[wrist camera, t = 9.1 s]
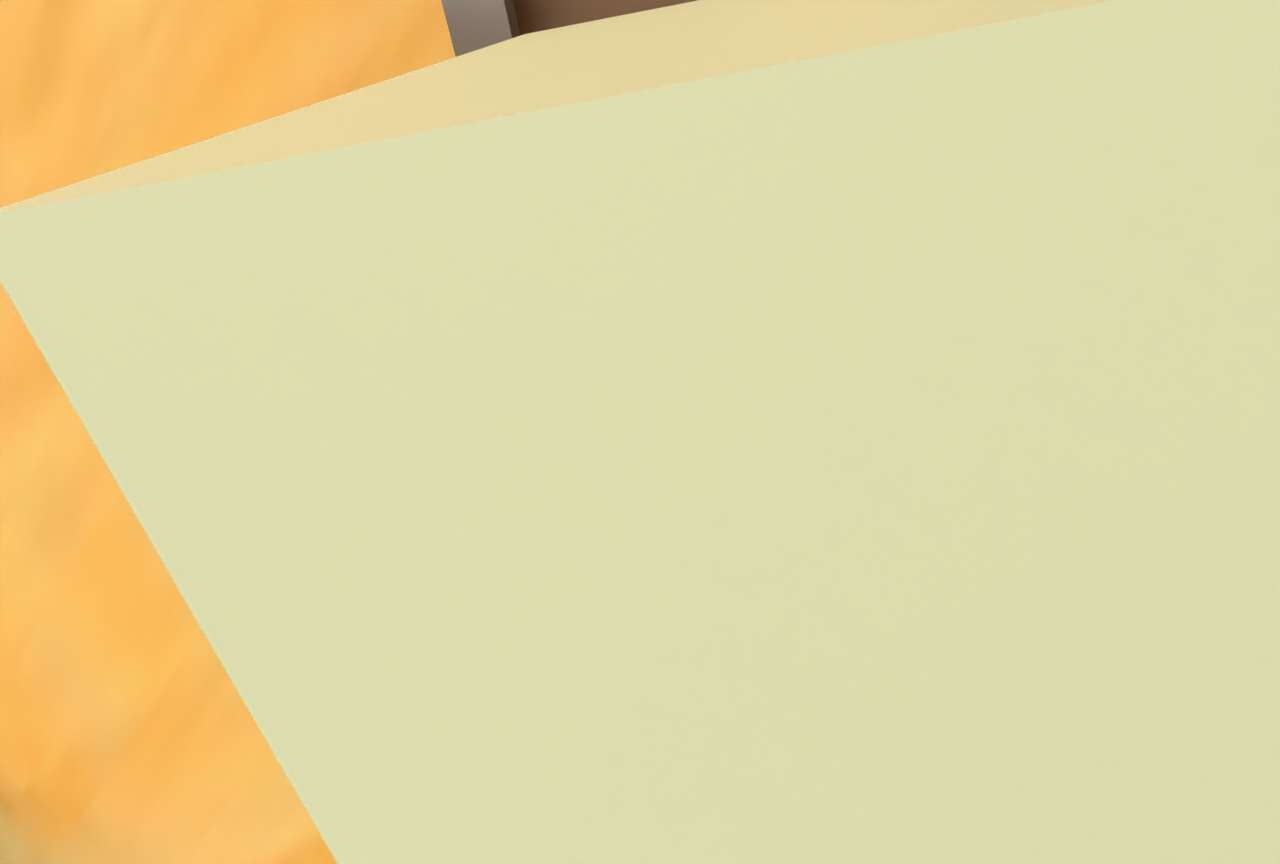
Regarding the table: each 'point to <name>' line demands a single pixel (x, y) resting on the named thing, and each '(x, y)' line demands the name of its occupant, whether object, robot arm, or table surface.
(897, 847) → the door panel
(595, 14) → the track
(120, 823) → the table surface
